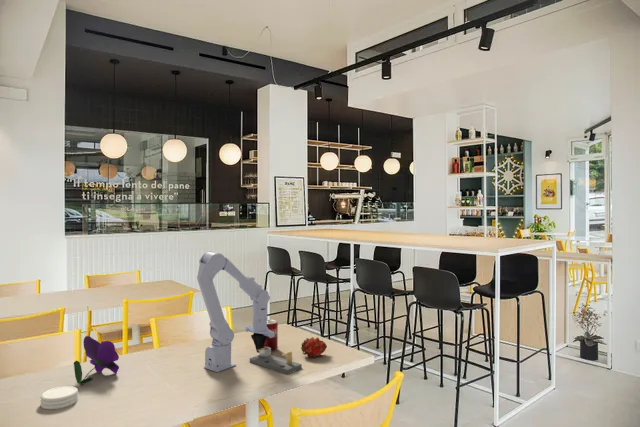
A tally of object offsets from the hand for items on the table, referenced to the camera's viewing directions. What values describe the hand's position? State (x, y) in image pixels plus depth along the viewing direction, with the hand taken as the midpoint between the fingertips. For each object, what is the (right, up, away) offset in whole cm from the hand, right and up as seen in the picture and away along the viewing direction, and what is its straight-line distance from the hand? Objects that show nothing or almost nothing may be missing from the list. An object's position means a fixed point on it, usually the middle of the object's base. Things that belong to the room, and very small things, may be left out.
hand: (259, 351), depth 178 cm
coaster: (-56, -3, -42) cm, 70 cm away
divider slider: (+2, -1, -3) cm, 3 cm away
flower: (-55, -3, -23) cm, 60 cm away
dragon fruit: (+22, -3, +4) cm, 23 cm away
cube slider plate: (+7, -3, -7) cm, 11 cm away
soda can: (+3, -3, +11) cm, 12 cm away
